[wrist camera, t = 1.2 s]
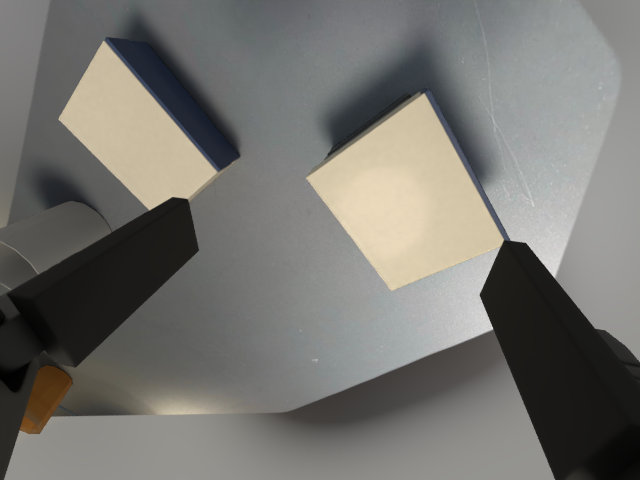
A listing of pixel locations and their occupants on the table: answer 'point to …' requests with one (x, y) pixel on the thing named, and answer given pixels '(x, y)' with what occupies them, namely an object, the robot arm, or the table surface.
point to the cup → (47, 240)
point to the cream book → (409, 195)
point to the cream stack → (145, 125)
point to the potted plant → (44, 398)
